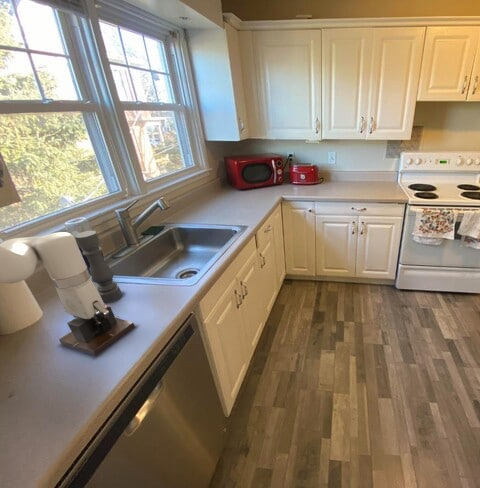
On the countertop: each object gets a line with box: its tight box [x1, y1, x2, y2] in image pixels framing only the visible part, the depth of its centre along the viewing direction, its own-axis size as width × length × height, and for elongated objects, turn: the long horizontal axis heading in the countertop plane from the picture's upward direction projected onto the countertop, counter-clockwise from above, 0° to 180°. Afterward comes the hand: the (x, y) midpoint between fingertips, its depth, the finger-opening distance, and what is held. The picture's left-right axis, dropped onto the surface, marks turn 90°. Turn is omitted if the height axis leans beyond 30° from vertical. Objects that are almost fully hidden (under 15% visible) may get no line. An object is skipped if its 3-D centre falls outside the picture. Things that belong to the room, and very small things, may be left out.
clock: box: [67, 304, 117, 343], centre depth 81 cm, size 9×4×6 cm, turn 161°
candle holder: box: [73, 230, 123, 304], centre depth 95 cm, size 6×6×25 cm
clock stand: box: [58, 315, 136, 357], centre depth 83 cm, size 14×13×2 cm
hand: (96, 328), depth 82 cm, fingers open, 7 cm apart
